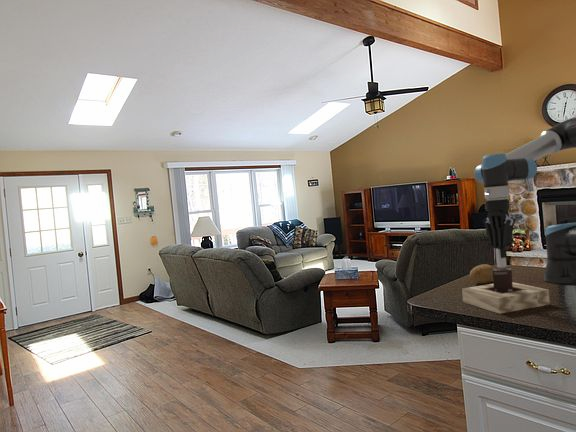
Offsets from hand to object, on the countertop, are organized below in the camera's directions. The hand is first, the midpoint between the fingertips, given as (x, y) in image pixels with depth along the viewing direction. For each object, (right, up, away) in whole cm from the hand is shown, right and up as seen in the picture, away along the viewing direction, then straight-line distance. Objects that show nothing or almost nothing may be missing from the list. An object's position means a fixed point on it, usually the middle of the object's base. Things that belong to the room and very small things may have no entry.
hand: (501, 266), depth 148 cm
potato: (+9, -11, +33) cm, 36 cm away
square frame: (+1, -13, 0) cm, 13 cm away
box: (+1, -13, +1) cm, 13 cm away
